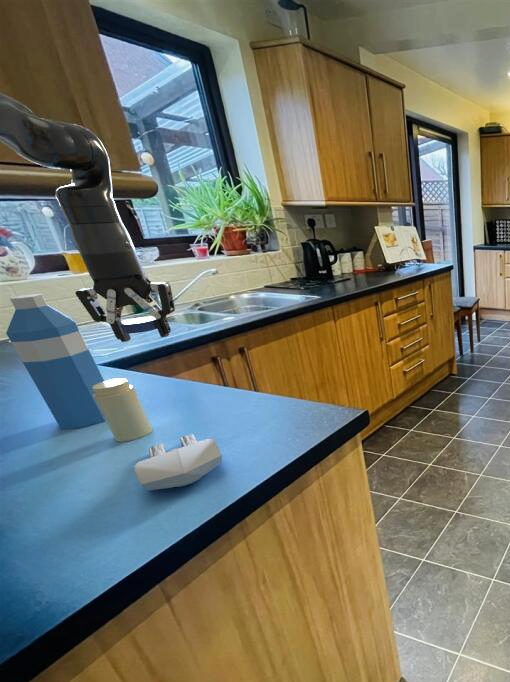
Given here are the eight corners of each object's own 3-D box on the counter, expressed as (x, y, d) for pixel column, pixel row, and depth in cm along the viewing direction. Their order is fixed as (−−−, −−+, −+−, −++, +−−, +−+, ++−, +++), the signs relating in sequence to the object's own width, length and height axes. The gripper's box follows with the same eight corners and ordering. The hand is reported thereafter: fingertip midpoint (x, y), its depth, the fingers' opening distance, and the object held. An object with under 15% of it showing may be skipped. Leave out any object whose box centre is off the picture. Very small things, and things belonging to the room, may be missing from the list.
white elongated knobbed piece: (211, 444, 75) (201, 421, 73) (232, 474, 61) (221, 446, 59) (141, 468, 68) (129, 443, 67) (148, 508, 54) (133, 477, 53)
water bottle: (74, 432, 76) (2, 303, 66) (47, 425, 80) (-26, 300, 69) (131, 410, 84) (74, 292, 74) (104, 405, 87) (46, 290, 77)
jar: (110, 444, 72) (82, 392, 68) (121, 431, 76) (96, 381, 72) (148, 437, 74) (123, 385, 70) (156, 424, 78) (133, 375, 74)
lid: (143, 333, 76) (140, 324, 75) (113, 334, 76) (109, 324, 75) (167, 325, 81) (164, 316, 80) (138, 326, 81) (135, 317, 80)
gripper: (163, 245, 78) (194, 329, 85) (70, 251, 74) (111, 338, 81) (146, 248, 72) (182, 338, 79) (43, 255, 67) (90, 349, 74)
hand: (145, 338), depth 80 cm, fingers closed on lid, 5 cm apart
